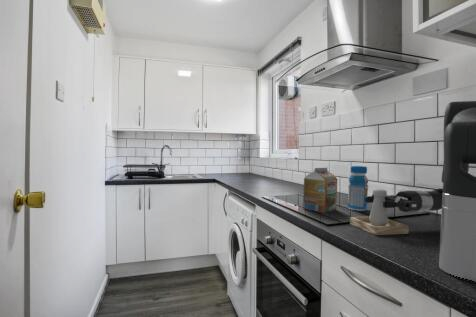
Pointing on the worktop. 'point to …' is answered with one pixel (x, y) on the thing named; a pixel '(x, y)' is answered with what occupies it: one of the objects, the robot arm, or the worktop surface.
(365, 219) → the tray
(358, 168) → the beverage bottle
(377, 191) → the salt shaker
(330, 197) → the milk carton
